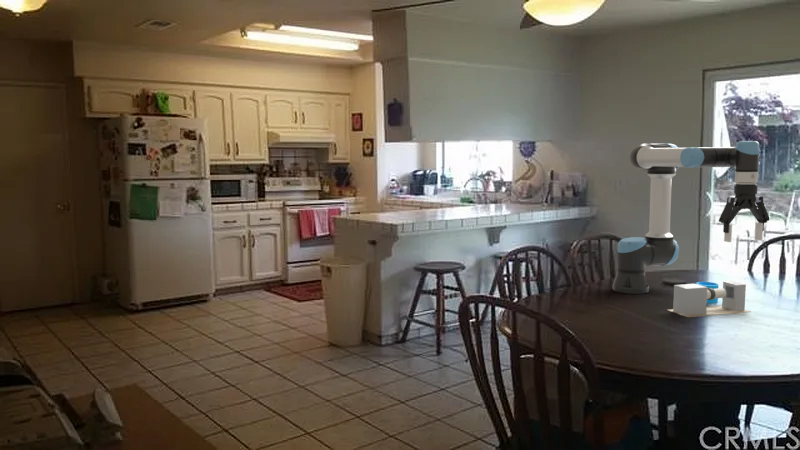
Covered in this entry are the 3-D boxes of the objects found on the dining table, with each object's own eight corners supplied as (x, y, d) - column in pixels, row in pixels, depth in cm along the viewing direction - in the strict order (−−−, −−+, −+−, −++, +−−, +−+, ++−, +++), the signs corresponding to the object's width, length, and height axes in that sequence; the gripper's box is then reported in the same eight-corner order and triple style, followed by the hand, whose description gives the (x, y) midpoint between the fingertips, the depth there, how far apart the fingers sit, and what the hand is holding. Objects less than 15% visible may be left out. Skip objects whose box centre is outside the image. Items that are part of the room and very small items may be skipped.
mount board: (666, 312, 245) (666, 309, 245) (728, 307, 252) (728, 304, 251) (687, 319, 233) (687, 317, 233) (751, 314, 240) (751, 311, 240)
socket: (735, 311, 241) (736, 285, 240) (722, 307, 248) (723, 281, 247) (744, 310, 242) (745, 284, 241) (730, 306, 249) (731, 281, 248)
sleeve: (685, 315, 236) (686, 288, 235) (673, 311, 242) (674, 285, 241) (706, 313, 238) (707, 287, 237) (693, 309, 245) (694, 283, 244)
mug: (715, 306, 253) (716, 286, 252) (693, 304, 257) (693, 284, 257) (721, 301, 262) (722, 281, 261) (700, 298, 267) (700, 279, 266)
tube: (686, 302, 237) (687, 291, 236) (679, 300, 241) (679, 288, 241) (726, 299, 241) (727, 288, 241) (718, 297, 245) (718, 286, 245)
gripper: (724, 184, 228) (722, 243, 230) (782, 183, 234) (779, 240, 236) (709, 183, 235) (707, 241, 237) (766, 182, 241) (763, 238, 243)
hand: (743, 241), depth 237 cm, fingers open, 13 cm apart
